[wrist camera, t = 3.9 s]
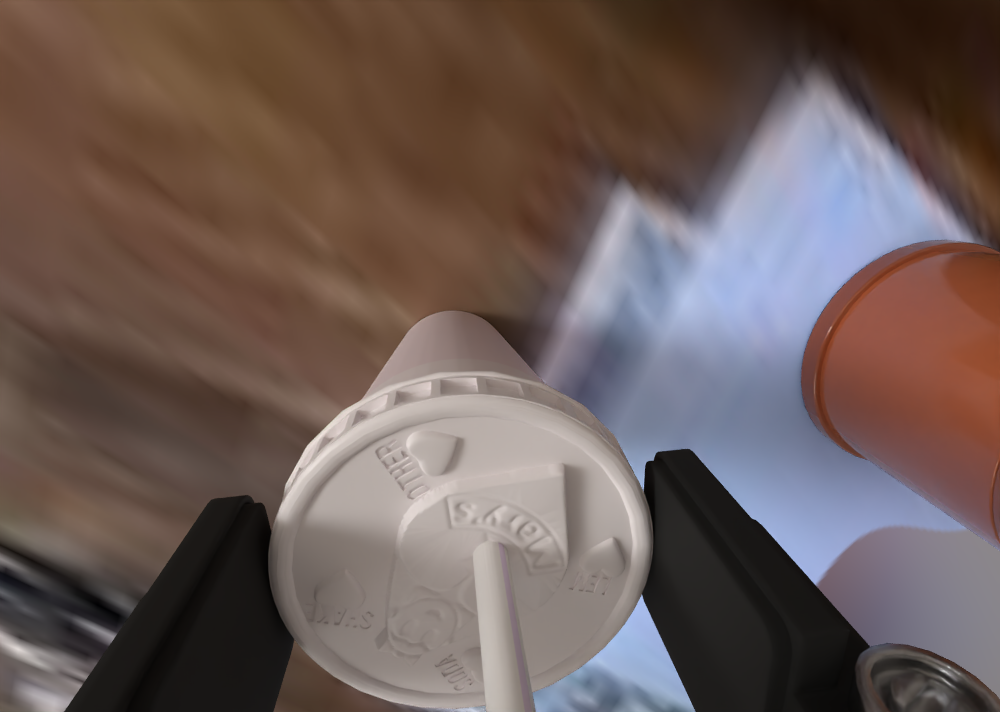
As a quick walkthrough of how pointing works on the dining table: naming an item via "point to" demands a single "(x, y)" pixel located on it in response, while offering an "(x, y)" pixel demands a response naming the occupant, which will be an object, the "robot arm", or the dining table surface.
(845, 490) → the dining table surface
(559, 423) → the smoothie
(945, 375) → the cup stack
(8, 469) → the dining table surface
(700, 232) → the dining table surface
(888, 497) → the dining table surface
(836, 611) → the robot arm
